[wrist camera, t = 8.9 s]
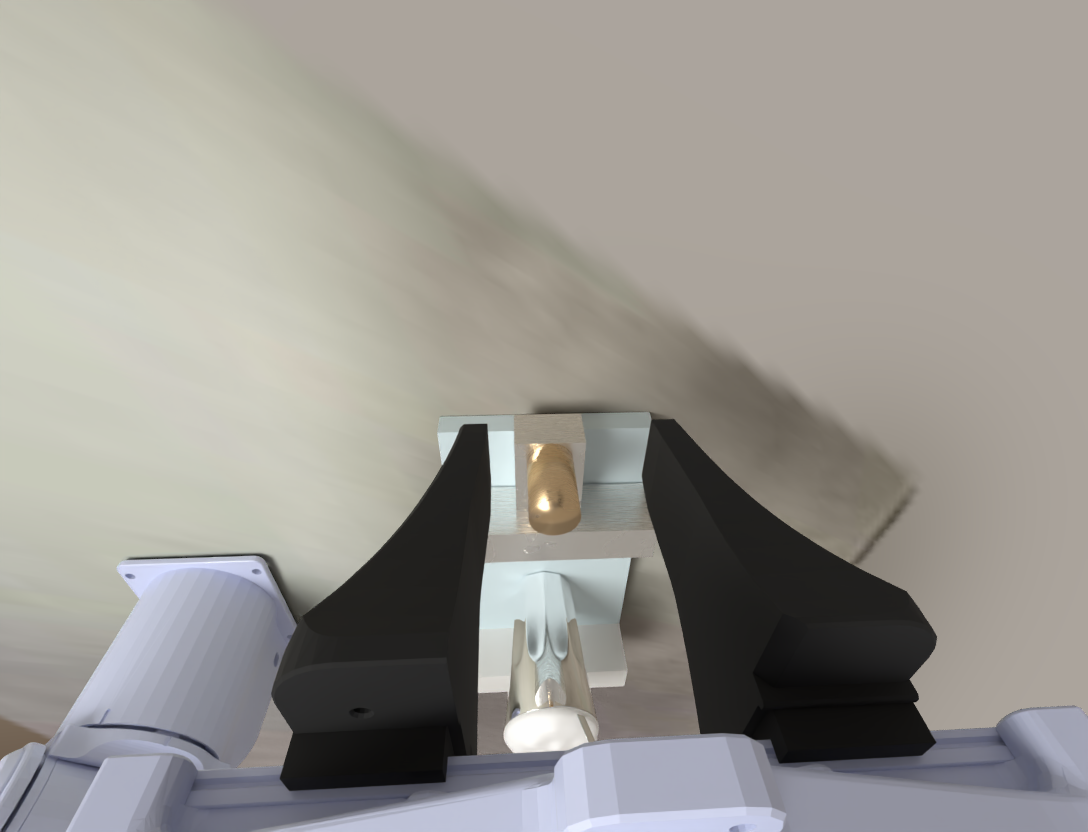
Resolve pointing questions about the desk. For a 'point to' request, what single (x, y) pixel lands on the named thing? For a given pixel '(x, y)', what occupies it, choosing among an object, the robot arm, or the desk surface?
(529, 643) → the milkshake
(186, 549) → the desk surface
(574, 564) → the pale blue stepped plate
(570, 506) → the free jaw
